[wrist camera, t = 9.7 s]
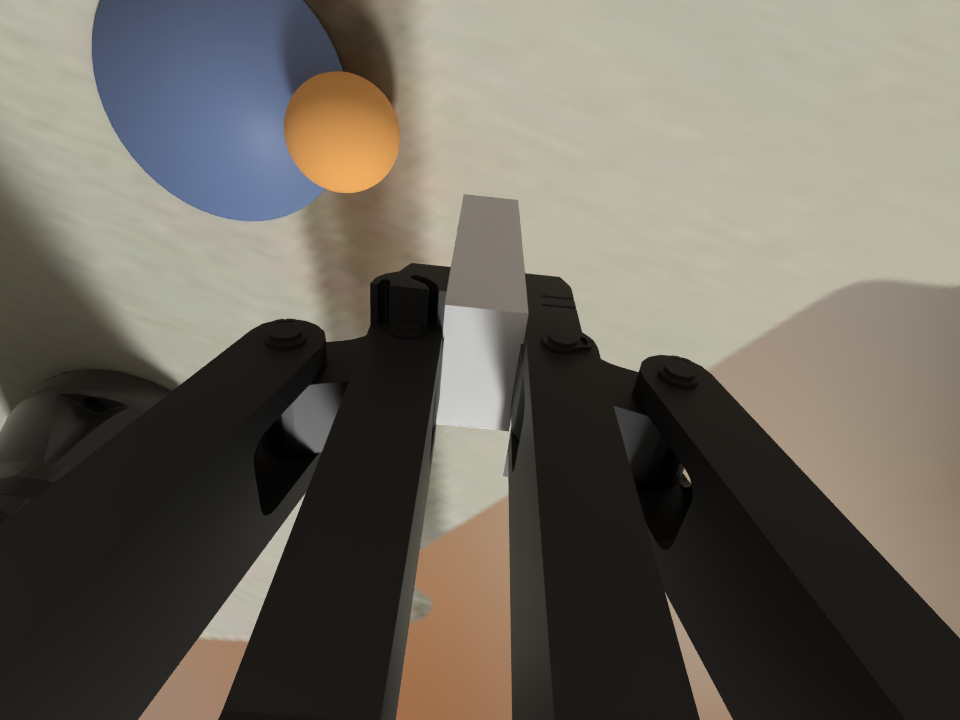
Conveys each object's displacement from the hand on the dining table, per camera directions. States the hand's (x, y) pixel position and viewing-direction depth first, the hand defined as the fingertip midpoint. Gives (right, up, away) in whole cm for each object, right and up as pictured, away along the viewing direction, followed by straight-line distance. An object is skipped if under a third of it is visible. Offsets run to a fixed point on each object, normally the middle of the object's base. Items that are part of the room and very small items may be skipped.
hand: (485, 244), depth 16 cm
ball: (-7, +8, +12) cm, 15 cm away
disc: (-13, +10, +13) cm, 22 cm away
